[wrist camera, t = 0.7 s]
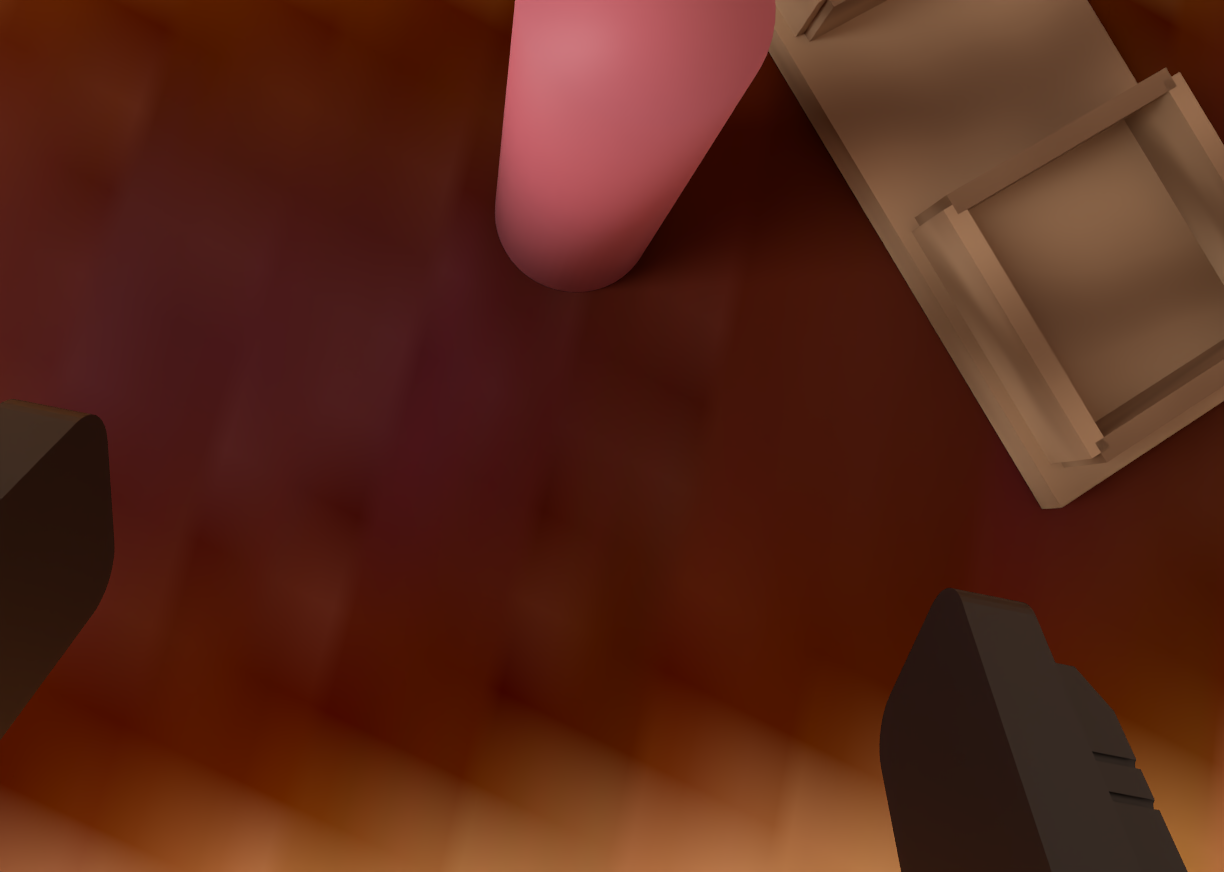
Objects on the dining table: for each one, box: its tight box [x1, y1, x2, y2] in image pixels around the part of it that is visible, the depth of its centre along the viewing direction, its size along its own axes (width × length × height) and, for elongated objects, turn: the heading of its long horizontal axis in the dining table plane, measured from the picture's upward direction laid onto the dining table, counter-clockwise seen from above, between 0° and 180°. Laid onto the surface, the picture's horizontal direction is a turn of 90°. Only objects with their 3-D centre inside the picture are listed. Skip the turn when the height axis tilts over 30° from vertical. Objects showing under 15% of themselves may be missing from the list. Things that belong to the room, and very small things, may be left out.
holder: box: [768, 0, 1224, 509], centre depth 30 cm, size 24×9×3 cm, turn 31°
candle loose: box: [495, 0, 776, 292], centre depth 24 cm, size 4×4×12 cm
